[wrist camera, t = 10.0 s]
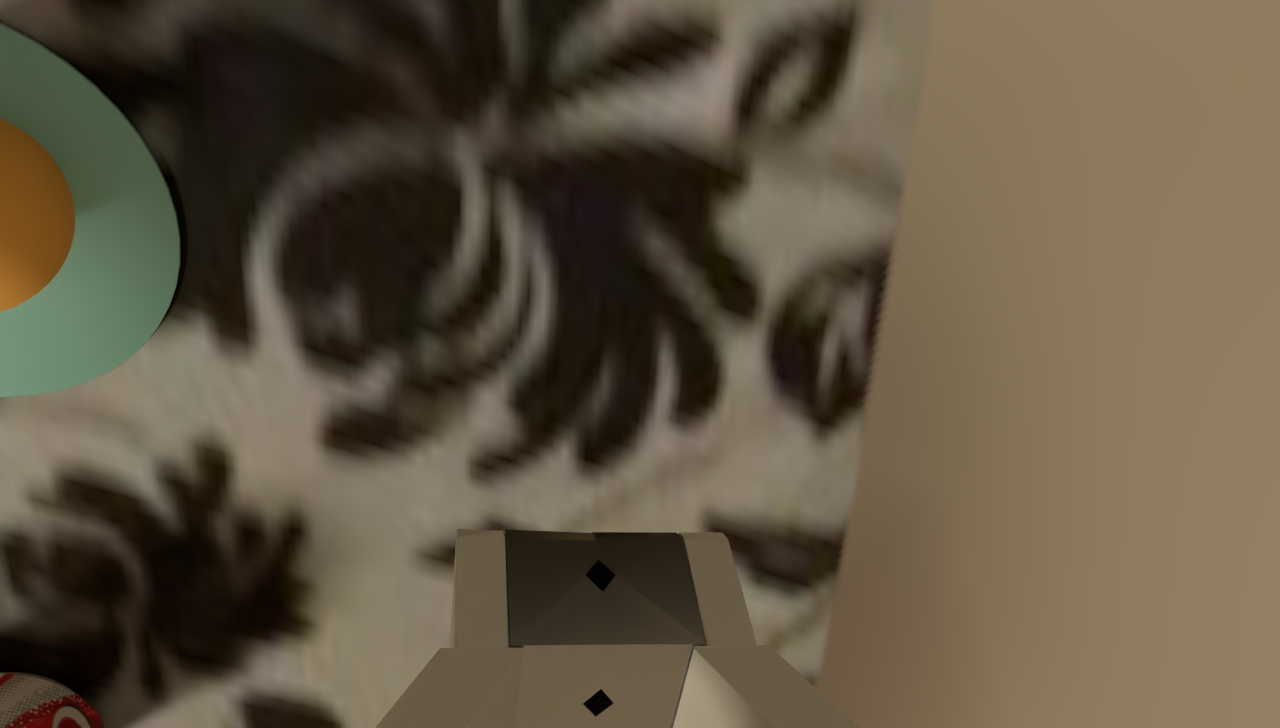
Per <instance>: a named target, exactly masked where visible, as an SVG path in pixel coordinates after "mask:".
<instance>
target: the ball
mask: <svg viewBox="0 0 1280 728" xmlns="http://www.w3.org/2000/svg"><path fill="white" fill-rule="evenodd" d="M74 231H75V208H74V203H73V197H72V194H71V191H70V188H69V185H68V183H67V181H66V178H65V176H64V174H63V172H62V171H61V169H60V168H59V166H58V165H57V163H56V162H55V160H54V159H53V157H52V156H51V155H50V154H49V153H48V152H47V151H46V149H45V148H44V147H43V146H42V145H41V144H39V143H38V142H37V141H36V140H35V139H34V138H33V137H32V136H30V135H29V134H27V133H26V132H25V131H23V130H22V129H20V128H19V127H17V126H15V125H13V124H12V123H10V122H8V121H6V120H4V119H2V118H0V312H2V311H5V310H7V309H10V308H13V307H15V306H17V305H19V304H21V303H23V302H25V301H27V300H28V299H30V298H31V297H33V296H34V295H36V294H37V293H39V292H40V291H41V290H42V289H43V288H44V287H45V286H46V285H48V284H49V283H50V282H51V280H52V279H53V278H54V277H55V276H56V274H57V273H58V272H59V270H60V269H61V267H62V265H63V264H64V262H65V261H66V258H67V256H68V254H69V251H70V249H71V245H72V242H73V238H74Z"/></svg>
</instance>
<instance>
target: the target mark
mask: <svg viewBox="0 0 1280 728" xmlns="http://www.w3.org/2000/svg"><path fill="white" fill-rule="evenodd" d="M0 118H2V119H4V120H6V121H8V122H10V123H12V124H13V125H15V126H17V127H19V128H20V129H22V130H23V131H25V132H26V133H27V134H29V135H30V136H32V137H33V138H34V139H35V140H36V141H37V142H38V143H39V144H41V145H42V146H43V147H44V148H45V149H46V151H47V152H48V153H49V154H50V155H51V156H52V157H53V159H54V160H55V162H56V163H57V165H58V166H59V168H60V169H61V171H62V172H63V174H64V176H65V178H66V181H67V183H68V185H69V188H70V191H71V194H72V197H73V203H74V208H75V231H74V238H73V242H72V245H71V249H70V251H69V254H68V256H67V258H66V261H65V262H64V264H63V265H62V267H61V269H60V270H59V272H58V273H57V274H56V276H55V277H54V278H53V279H52V280H51V282H50V283H49V284H48V285H46V286H45V287H44V288H43V289H42V290H41V291H40V292H39V293H37V294H36V295H34V296H33V297H31V298H30V299H28V300H27V301H25V302H23V303H21V304H19V305H17V306H15V307H13V308H10V309H7V310H5V311H2V312H0V397H14V396H26V395H38V394H43V393H48V392H53V391H59V390H64V389H67V388H70V387H73V386H76V385H79V384H82V383H85V382H88V381H90V380H92V379H95V378H97V377H99V376H101V375H103V374H105V373H107V372H109V371H111V370H112V369H114V368H115V367H117V366H118V365H120V364H121V363H123V362H124V361H126V360H127V359H129V358H130V357H131V356H132V355H133V354H134V353H135V352H136V351H138V350H139V349H140V348H141V347H142V346H143V345H144V344H145V343H146V342H147V340H148V339H149V338H150V337H151V335H152V334H153V333H154V332H155V330H156V329H157V328H158V326H159V324H160V323H161V321H162V319H163V317H164V315H165V313H166V312H167V310H168V308H169V306H170V303H171V301H172V298H173V295H174V292H175V289H176V286H177V282H178V276H179V269H180V263H181V237H180V230H179V224H178V218H177V212H176V209H175V206H174V203H173V199H172V196H171V193H170V190H169V187H168V184H167V182H166V180H165V178H164V176H163V174H162V172H161V170H160V167H159V165H158V163H157V161H156V159H155V158H154V156H153V154H152V153H151V151H150V150H149V148H148V146H147V145H146V143H145V142H144V140H143V138H142V137H141V135H140V134H139V132H138V131H137V130H136V129H135V127H134V126H133V125H132V124H131V122H130V121H129V120H128V119H127V117H126V116H125V115H124V114H123V112H122V111H121V110H120V109H119V108H118V107H117V106H116V105H115V104H114V103H113V102H112V101H111V100H110V99H109V98H108V97H107V96H106V95H105V94H104V93H103V92H102V91H101V90H100V89H99V88H98V87H97V86H96V85H95V84H94V83H93V82H92V81H91V80H89V79H88V78H87V77H86V76H85V75H83V74H82V73H81V72H80V71H78V70H77V69H76V68H75V67H74V66H72V65H71V64H70V63H69V62H67V61H66V60H64V59H63V58H61V57H60V56H58V55H57V54H55V53H54V52H52V51H51V50H49V49H48V48H46V47H45V46H43V45H42V44H40V43H39V42H37V41H36V40H34V39H32V38H30V37H28V36H26V35H24V34H22V33H21V32H19V31H17V30H15V29H13V28H11V27H9V26H7V25H6V24H4V23H1V22H0Z"/></svg>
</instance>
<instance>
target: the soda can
mask: <svg viewBox="0 0 1280 728" xmlns="http://www.w3.org/2000/svg"><path fill="white" fill-rule="evenodd" d="M0 728H104V725H103V722H102V720H101V718H100V716H99V715H98V713H97V712H96V710H95V709H94V708H93V707H92V706H91V705H90V704H89V703H88V702H87V701H86V700H84V699H83V698H82V697H81V696H79V695H78V694H76V693H75V692H73V691H72V690H71V689H70V688H68V687H66V686H65V685H63V684H61V683H59V682H57V681H55V680H52V679H49V678H46V677H43V676H39V675H35V674H30V673H22V672H1V673H0Z"/></svg>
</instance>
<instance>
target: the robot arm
mask: <svg viewBox="0 0 1280 728" xmlns="http://www.w3.org/2000/svg"><path fill="white" fill-rule="evenodd" d="M376 728H858V727H856V726H855V725H854V724H853V723H852V722H851V721H850V720H849V719H848V718H847V717H845V716H844V715H843V713H841V712H840V711H839V710H838V709H837V708H836V707H835V706H834V705H833V704H832V703H831V702H830V701H829V700H827V699H826V698H825V697H824V696H823V695H822V694H821V693H820V692H819V691H818V690H817V689H816V688H815V687H813V686H812V685H811V684H810V683H809V682H808V681H807V680H806V679H805V678H804V677H803V676H802V675H801V674H799V673H798V672H797V671H796V670H795V669H794V668H793V667H792V666H791V665H790V664H789V663H788V662H787V661H785V660H784V659H783V658H782V657H781V656H780V655H779V654H778V653H777V652H776V651H775V650H774V649H773V648H771V647H770V646H757V643H756V640H755V636H754V632H753V629H752V625H751V622H750V618H749V614H748V611H747V607H746V603H745V600H744V596H743V592H742V589H741V585H740V582H739V578H738V574H737V571H736V567H735V563H734V560H733V556H732V552H731V549H730V545H729V542H728V539H727V538H726V536H725V535H724V534H723V533H679V534H677V533H616V532H592V533H577V532H550V531H523V530H505V532H504V533H503V531H494V530H471V529H458V531H457V536H456V551H455V567H454V583H453V599H452V617H451V634H450V648H440V649H439V651H438V652H437V653H436V654H435V655H434V657H433V658H432V659H431V660H430V662H429V663H428V664H427V665H426V667H425V668H424V669H423V670H422V671H421V673H420V674H419V675H418V676H417V678H416V679H415V680H414V681H413V682H412V684H411V685H410V686H409V687H408V689H407V690H406V691H405V692H404V694H403V695H402V696H401V697H400V698H399V700H398V701H397V702H396V703H395V705H394V706H393V707H392V708H391V710H390V711H389V712H388V713H387V714H386V716H385V717H384V718H383V719H382V721H381V722H380V723H379V724H378V725H377V727H376Z"/></svg>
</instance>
